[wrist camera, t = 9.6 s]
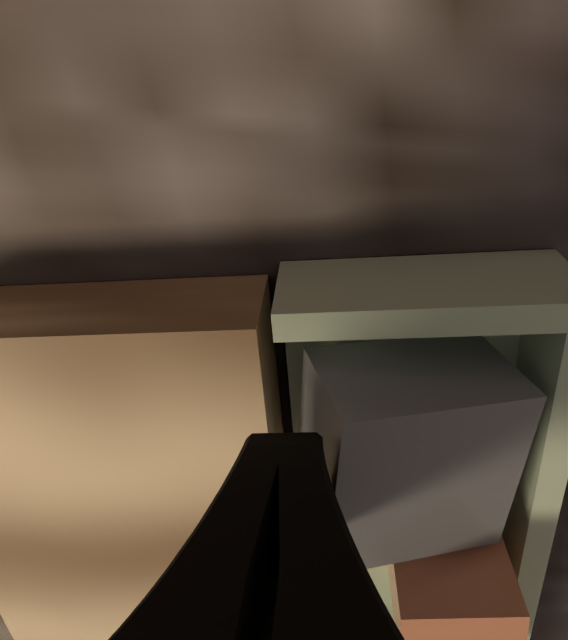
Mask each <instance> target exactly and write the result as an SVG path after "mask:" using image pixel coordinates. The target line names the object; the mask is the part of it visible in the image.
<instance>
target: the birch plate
mask: <svg viewBox="0 0 568 640" xmlns="http://www.w3.org/2000/svg"><path fill="white" fill-rule="evenodd" d="M252 433H283V424H282V413H281V403H280V393H279V383H278V372H277V362H276V352H275V343H273V333H272V323H271V300H270V290H269V280H268V275H245V276H222V277H199V278H176V279H154V280H131V281H108V282H85V283H62V284H39V285H16V286H0V614H1V616H2V618H3V620H4V622H5V624H6V626H7V628H8V630H9V631H10V633H11V635H12V637H13V639H14V640H108V639H109V638H110V637H111V636H112V635H113V633H114V632H115V631H116V630H117V629H118V628H119V627H120V626H121V625H122V623H123V622H124V621H125V620H126V619H127V618H128V616H129V615H130V614H131V613H132V612H133V610H134V609H135V608H136V607H137V605H138V604H139V603H140V602H141V601H142V599H143V598H144V597H145V596H146V594H147V593H148V592H149V591H150V589H151V588H152V587H153V586H154V584H155V583H156V582H157V580H158V579H159V578H160V577H161V575H162V574H163V573H164V571H165V570H166V569H167V567H168V566H169V565H170V563H171V562H172V560H173V559H174V557H175V556H176V555H177V553H178V552H179V550H180V549H181V548H182V546H183V545H184V543H185V542H186V540H187V539H188V538H189V536H190V535H191V533H192V532H193V530H194V529H195V527H196V526H197V524H198V523H199V521H200V520H201V518H202V517H203V515H204V513H205V512H206V510H207V509H208V507H209V505H210V504H211V502H212V501H213V499H214V497H215V496H216V494H217V493H218V491H219V489H220V488H221V486H222V484H223V482H224V481H225V479H226V477H227V475H228V474H229V472H230V470H231V468H232V466H233V464H234V463H235V461H236V459H237V457H238V455H239V453H240V451H241V449H242V447H243V445H244V442H245V440H246V438H247V437H248V436H249V435H251V434H252Z"/></svg>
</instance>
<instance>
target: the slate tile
mask: <svg viewBox="0 0 568 640" xmlns="http://www.w3.org/2000/svg"><path fill="white" fill-rule="evenodd" d="M546 399H547V396H546V395H545V394H544V393H543V392H542V391H541V390H540V389H539V388H537V387H536V386H535V385H534V384H533V383H532V382H531V381H530V380H529V379H528V378H527V377H526V376H525V375H523V374H522V373H521V372H520V371H519V370H518V369H517V368H516V367H515V366H514V365H513V364H512V363H510V362H509V361H508V360H507V359H506V358H505V357H504V356H503V355H502V354H501V353H500V352H499V351H497V350H496V349H495V348H494V347H493V346H492V345H491V344H490V343H489V342H488V341H487V340H486V339H485V338H483V337H482V336H465V337H434V338H402V339H383V340H373V341H363V342H353V343H343V344H333V345H323V346H313V347H304V351H303V368H302V385H301V402H300V419H299V432H317V433H318V434H319V435H321V436H322V437H323V449H324V455H325V460H326V465H327V469H328V472H329V476H330V479H331V482H332V486H333V489H334V492H335V495H336V498H337V500H338V503H339V506H340V508H341V511H342V513H343V516H344V518H345V521H346V524H347V526H348V529H349V531H350V533H351V536H352V538H353V540H354V543H355V545H356V547H357V549H358V551H359V554H360V556H361V558H362V560H363V562H364V564H365V566H366V568H367V569H369V568H374V567H379V566H384V565H389V564H394V563H399V562H404V561H409V560H414V559H419V558H424V557H429V556H434V555H439V554H444V553H449V552H454V551H459V550H464V549H469V548H474V547H479V546H484V545H489V544H495V543H499V541H500V538H501V535H502V532H503V529H504V526H505V523H506V520H507V517H508V514H509V511H510V508H511V505H512V502H513V499H514V496H515V493H516V490H517V487H518V484H519V481H520V478H521V475H522V472H523V469H524V466H525V463H526V460H527V457H528V454H529V451H530V447H531V444H532V441H533V438H534V435H535V432H536V429H537V426H538V423H539V420H540V417H541V414H542V411H543V408H544V405H545V402H546Z"/></svg>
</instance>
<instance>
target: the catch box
mask: <svg viewBox="0 0 568 640" xmlns="http://www.w3.org/2000/svg"><path fill="white" fill-rule="evenodd" d="M271 323H272V333H273V343H278V342H285V346H286V357H287V369H288V380H289V392H290V403H291V415H292V427H293V433H297V432H299V419H300V402H301V385H302V368H303V351H304V347H313V346H323V345H333V344H343V343H353V342H363V341H373V340H383V339H402V338H434V337H465V336H482V337H483V338H485V339H486V340H487V341H488V342H489V343H490V344H491V345H492V346H493V347H494V348H495V349H496V350H497V351H499V352H500V353H501V354H502V355H503V356H504V357H505V358H506V359H507V360H508V361H509V362H510V363H512V364H513V365H514V366H515V367H516V368H517V369H518V370H519V371H520V372H521V373H522V374H523V375H525V376H526V377H527V378H528V379H529V380H530V381H531V382H532V383H533V384H534V385H535V386H536V387H537V388H539V389H540V390H541V391H542V392H543V393H544V394H545V395H546V396H547V399H546V402H545V405H544V408H543V411H542V414H541V417H540V420H539V423H538V426H537V429H536V432H535V435H534V438H533V441H532V444H531V447H530V451H529V454H528V457H527V460H526V463H525V466H524V469H523V472H522V475H521V478H520V481H519V484H518V487H517V490H516V493H515V496H514V499H513V502H512V505H511V508H510V511H509V514H508V517H507V520H506V523H505V526H504V529H503V532H502V538H503V540H504V543H505V546H506V549H507V552H508V555H509V558H510V561H511V563H512V566H513V569H514V572H515V575H516V578H517V581H518V584H519V586H520V589H521V592H522V595H523V598H524V601H525V604H526V607H527V610H528V612H529V615H530V621H529V629H528V637H527V640H530V637H531V633H532V628H533V624H534V620H535V616H536V612H537V607H538V603H539V599H540V595H541V590H542V586H543V582H544V578H545V573H546V569H547V565H548V561H549V556H550V552H551V548H552V544H553V539H554V535H555V531H556V527H557V522H558V518H559V514H560V510H561V505H562V501H563V497H564V493H565V488H566V484H567V480H568V261H567V260H566V259H565V258H564V257H563V256H562V255H561V254H560V253H559V252H558V251H557V250H556V249H545V250H523V251H501V252H479V253H457V254H435V255H414V256H392V257H370V258H348V259H326V260H304V261H282V262H280V265H279V271H278V276H277V282H276V288H275V293H274V299H273V304H272V310H271ZM367 571H368V573H369V575H370V577H371V579H372V581H373V583H374V585H375V587H376V588H377V590H378V592H379V594H380V596H381V598H382V600H383V602H384V604H385V605H386V607H387V609H388V611H389V613H390V615H391V616H392V618H393V620H394V616H393V607H392V599H391V591H390V582H389V574H388V565H384V566H379V567H374V568H369V569H367Z"/></svg>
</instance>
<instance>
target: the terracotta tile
mask: <svg viewBox="0 0 568 640" xmlns="http://www.w3.org/2000/svg"><path fill="white" fill-rule="evenodd" d="M388 574H389V582H390V591H391V599H392V607H393V616H394V622H395V624H396V625H397V627H398V629H399V631H400V632H401V634H402V636H403V637H404V639H405V640H527V637H528V629H529V621H530V615H529V612H528V610H527V607H526V604H525V601H524V598H523V595H522V592H521V589H520V586H519V584H518V581H517V578H516V575H515V572H514V569H513V566H512V563H511V561H510V558H509V555H508V552H507V549H506V546H505V543H504V540H503V538H502V535H501V538H500V541H499V543H495V544H489V545H484V546H479V547H474V548H469V549H464V550H459V551H454V552H449V553H444V554H439V555H434V556H429V557H424V558H419V559H414V560H409V561H404V562H399V563H394V564H389V565H388Z"/></svg>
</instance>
